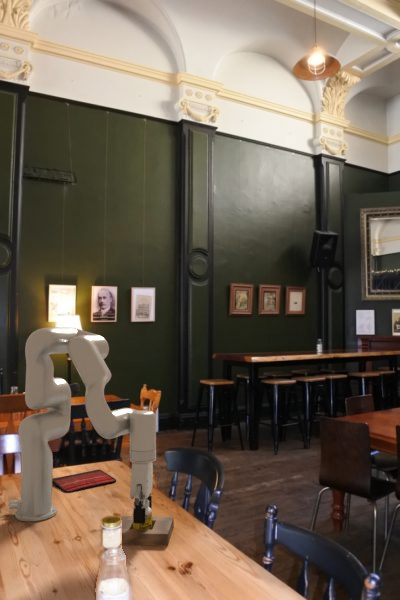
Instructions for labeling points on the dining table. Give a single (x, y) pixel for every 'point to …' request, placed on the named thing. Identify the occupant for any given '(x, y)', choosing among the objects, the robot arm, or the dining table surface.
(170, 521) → the socket block
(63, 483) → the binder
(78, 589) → the dining table surface
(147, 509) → the supplement bottle
